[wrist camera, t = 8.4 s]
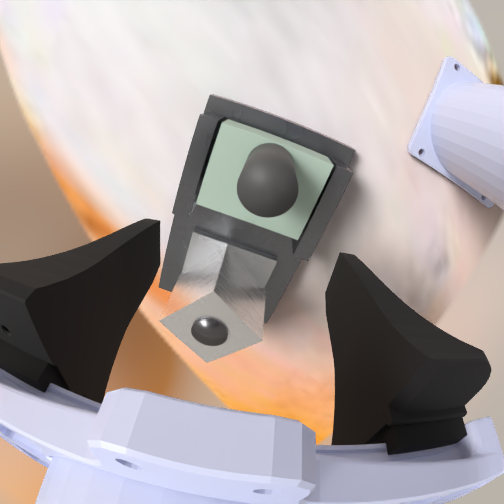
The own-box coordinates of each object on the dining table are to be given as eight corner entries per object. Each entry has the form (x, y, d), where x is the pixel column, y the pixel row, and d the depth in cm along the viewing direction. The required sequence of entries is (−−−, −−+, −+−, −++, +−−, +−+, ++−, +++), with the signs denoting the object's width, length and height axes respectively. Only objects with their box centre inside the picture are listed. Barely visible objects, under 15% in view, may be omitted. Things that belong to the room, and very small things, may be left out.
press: (351, 147, 17) (365, 158, 14) (266, 315, 25) (265, 344, 22) (213, 94, 16) (200, 95, 13) (162, 280, 24) (149, 305, 21)
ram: (327, 156, 16) (350, 188, 11) (295, 224, 18) (302, 280, 13) (228, 119, 15) (204, 133, 10) (204, 192, 18) (175, 236, 13)
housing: (265, 289, 22) (262, 343, 17) (218, 313, 23) (206, 364, 19) (227, 244, 20) (213, 293, 15) (180, 274, 21) (157, 322, 17)
